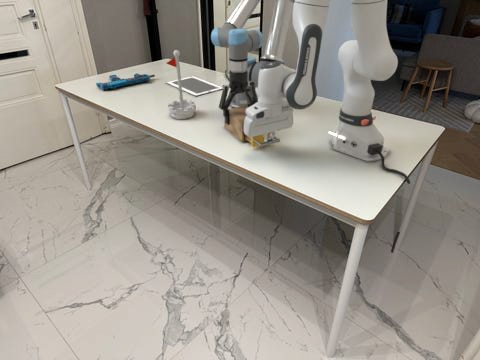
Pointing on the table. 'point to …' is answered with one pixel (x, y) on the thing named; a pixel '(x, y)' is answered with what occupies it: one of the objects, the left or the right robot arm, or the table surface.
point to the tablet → (195, 86)
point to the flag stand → (180, 95)
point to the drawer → (260, 140)
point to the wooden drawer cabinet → (237, 122)
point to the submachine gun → (123, 81)
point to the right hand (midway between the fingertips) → (268, 141)
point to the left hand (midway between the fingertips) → (238, 121)
